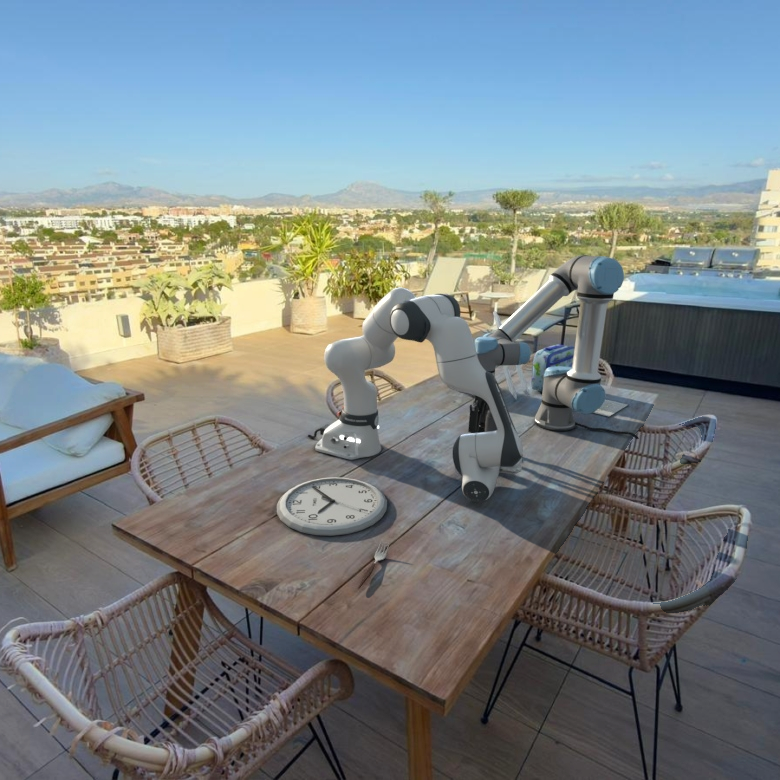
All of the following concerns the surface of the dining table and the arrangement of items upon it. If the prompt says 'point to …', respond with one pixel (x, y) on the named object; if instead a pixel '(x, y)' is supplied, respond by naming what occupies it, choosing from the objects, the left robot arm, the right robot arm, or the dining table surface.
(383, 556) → the fork
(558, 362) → the lunch box
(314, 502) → the wall clock
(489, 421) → the dark grey cylinder
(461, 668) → the dining table surface
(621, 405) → the invitation card
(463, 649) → the dining table surface
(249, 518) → the dining table surface
